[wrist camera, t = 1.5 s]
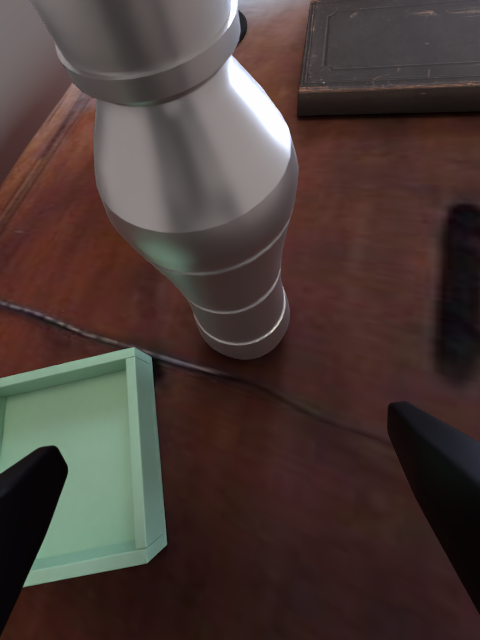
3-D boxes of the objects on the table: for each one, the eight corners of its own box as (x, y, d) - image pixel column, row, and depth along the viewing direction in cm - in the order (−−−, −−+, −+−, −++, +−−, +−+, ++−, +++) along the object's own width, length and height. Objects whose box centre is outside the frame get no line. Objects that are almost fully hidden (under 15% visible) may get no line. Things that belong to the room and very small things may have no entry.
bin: (167, 544, 19) (147, 563, 16) (-15, 580, 20) (-64, 604, 17) (151, 357, 24) (134, 346, 21) (5, 390, 24) (-32, 385, 21)
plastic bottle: (235, 274, 25) (101, -174, 7) (306, 314, 23) (398, -177, 5) (188, 335, 24) (-150, -14, 5) (259, 384, 22) (113, 87, 3)
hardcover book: (309, 25, 36) (310, -1, 34) (530, 8, 32) (547, -22, 30) (296, 119, 31) (297, 96, 28) (560, 113, 26) (585, 85, 24)
